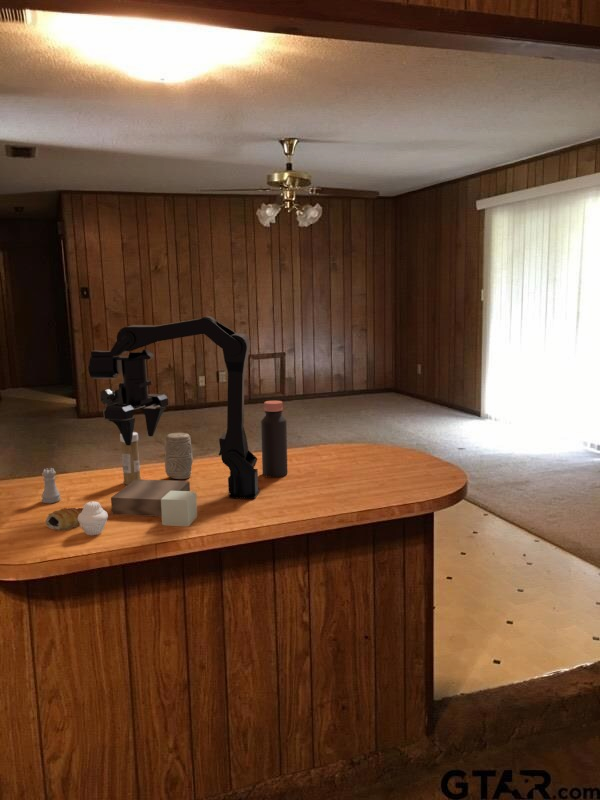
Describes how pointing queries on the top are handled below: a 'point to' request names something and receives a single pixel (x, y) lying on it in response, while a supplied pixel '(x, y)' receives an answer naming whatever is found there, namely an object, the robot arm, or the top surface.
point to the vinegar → (274, 440)
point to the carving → (178, 455)
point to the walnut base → (144, 496)
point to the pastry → (64, 519)
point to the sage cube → (179, 508)
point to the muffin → (92, 518)
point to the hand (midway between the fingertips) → (139, 440)
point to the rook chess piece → (50, 487)
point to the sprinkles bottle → (130, 459)
